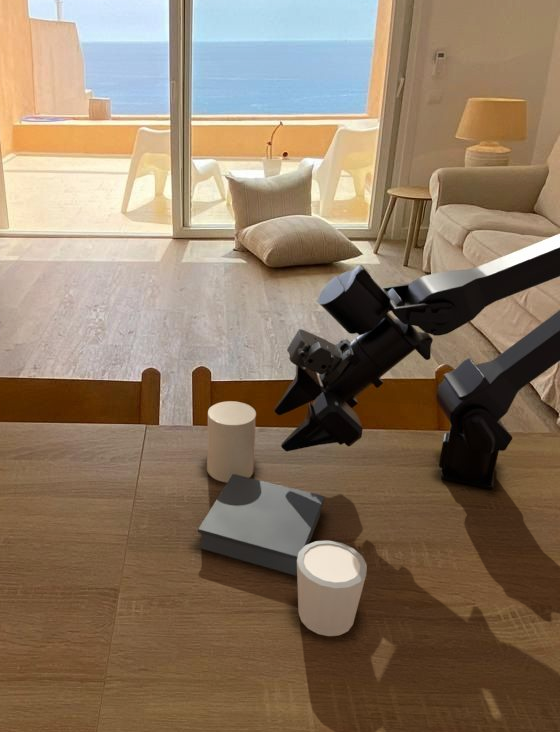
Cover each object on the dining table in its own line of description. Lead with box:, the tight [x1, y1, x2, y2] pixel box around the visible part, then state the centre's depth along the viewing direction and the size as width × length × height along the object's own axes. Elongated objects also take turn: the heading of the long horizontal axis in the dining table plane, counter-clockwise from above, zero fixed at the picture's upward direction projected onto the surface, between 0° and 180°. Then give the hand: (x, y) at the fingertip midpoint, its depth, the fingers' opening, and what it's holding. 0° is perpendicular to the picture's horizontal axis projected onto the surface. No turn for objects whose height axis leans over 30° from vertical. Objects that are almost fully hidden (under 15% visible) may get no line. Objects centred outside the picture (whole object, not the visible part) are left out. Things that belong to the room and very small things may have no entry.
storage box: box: [197, 474, 326, 577], centre depth 83 cm, size 12×12×3 cm
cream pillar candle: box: [206, 400, 257, 484], centre depth 94 cm, size 6×6×9 cm
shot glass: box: [296, 540, 368, 637], centre depth 70 cm, size 7×7×7 cm
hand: (279, 429), depth 93 cm, fingers open, 9 cm apart
